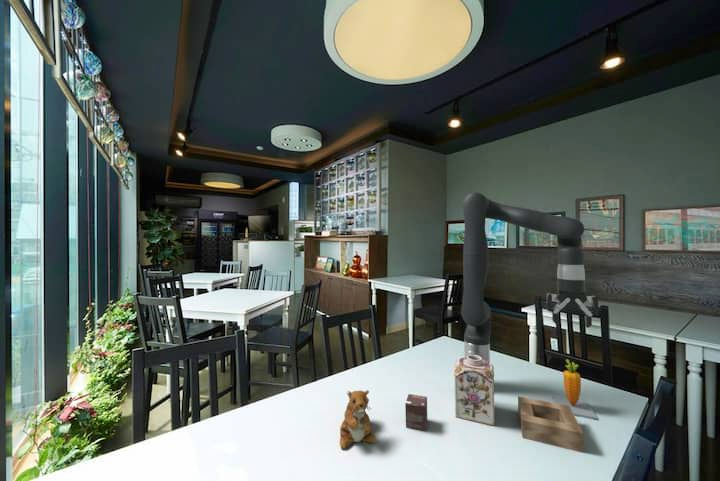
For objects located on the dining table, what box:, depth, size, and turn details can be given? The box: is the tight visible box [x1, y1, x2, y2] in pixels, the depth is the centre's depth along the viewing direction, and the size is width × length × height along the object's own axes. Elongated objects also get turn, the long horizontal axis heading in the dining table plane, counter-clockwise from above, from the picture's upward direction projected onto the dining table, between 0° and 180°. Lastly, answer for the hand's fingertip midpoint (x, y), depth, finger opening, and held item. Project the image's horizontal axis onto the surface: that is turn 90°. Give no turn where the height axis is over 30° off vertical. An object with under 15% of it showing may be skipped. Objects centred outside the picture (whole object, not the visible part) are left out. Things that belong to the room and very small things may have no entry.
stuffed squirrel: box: [339, 389, 376, 450], centre depth 83 cm, size 10×14×13 cm
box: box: [404, 393, 428, 432], centre depth 87 cm, size 6×6×7 cm
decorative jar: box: [453, 355, 496, 426], centre depth 93 cm, size 12×12×18 cm
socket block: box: [517, 395, 584, 453], centre depth 84 cm, size 14×14×5 cm
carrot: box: [562, 359, 582, 406], centre depth 95 cm, size 5×5×15 cm
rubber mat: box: [552, 395, 598, 421], centre depth 95 cm, size 10×10×1 cm
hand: (571, 325), depth 96 cm, fingers open, 8 cm apart
